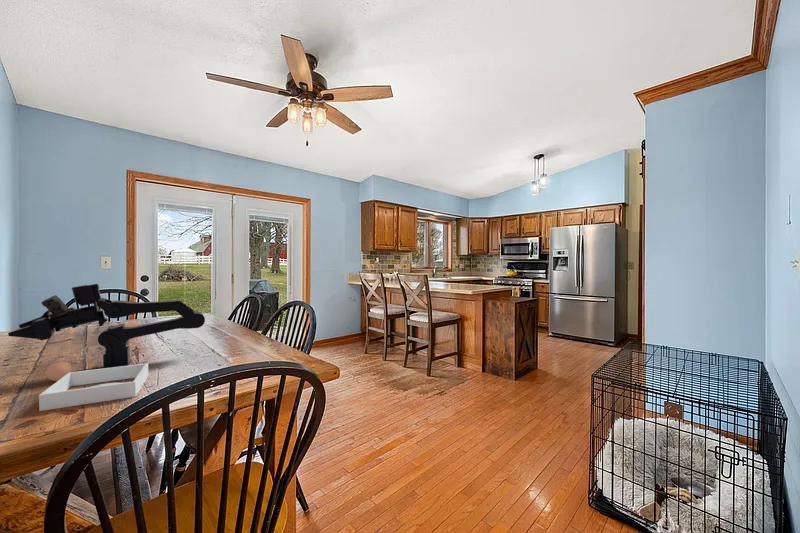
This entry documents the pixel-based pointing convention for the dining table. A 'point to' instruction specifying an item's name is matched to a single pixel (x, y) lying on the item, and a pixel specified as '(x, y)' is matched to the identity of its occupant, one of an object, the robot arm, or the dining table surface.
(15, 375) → the dining table surface
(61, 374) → the ball
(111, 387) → the walled pen
